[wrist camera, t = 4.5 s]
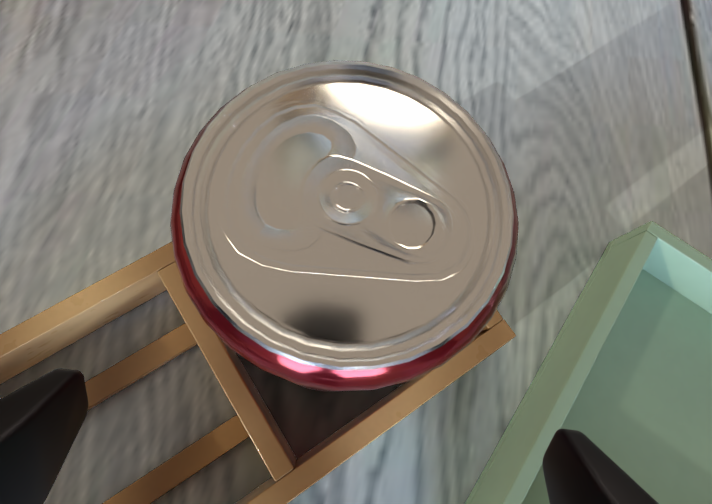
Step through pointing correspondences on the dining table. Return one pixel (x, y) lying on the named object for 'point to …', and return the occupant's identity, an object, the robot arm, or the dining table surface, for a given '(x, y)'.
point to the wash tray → (623, 377)
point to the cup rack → (253, 418)
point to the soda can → (344, 226)
